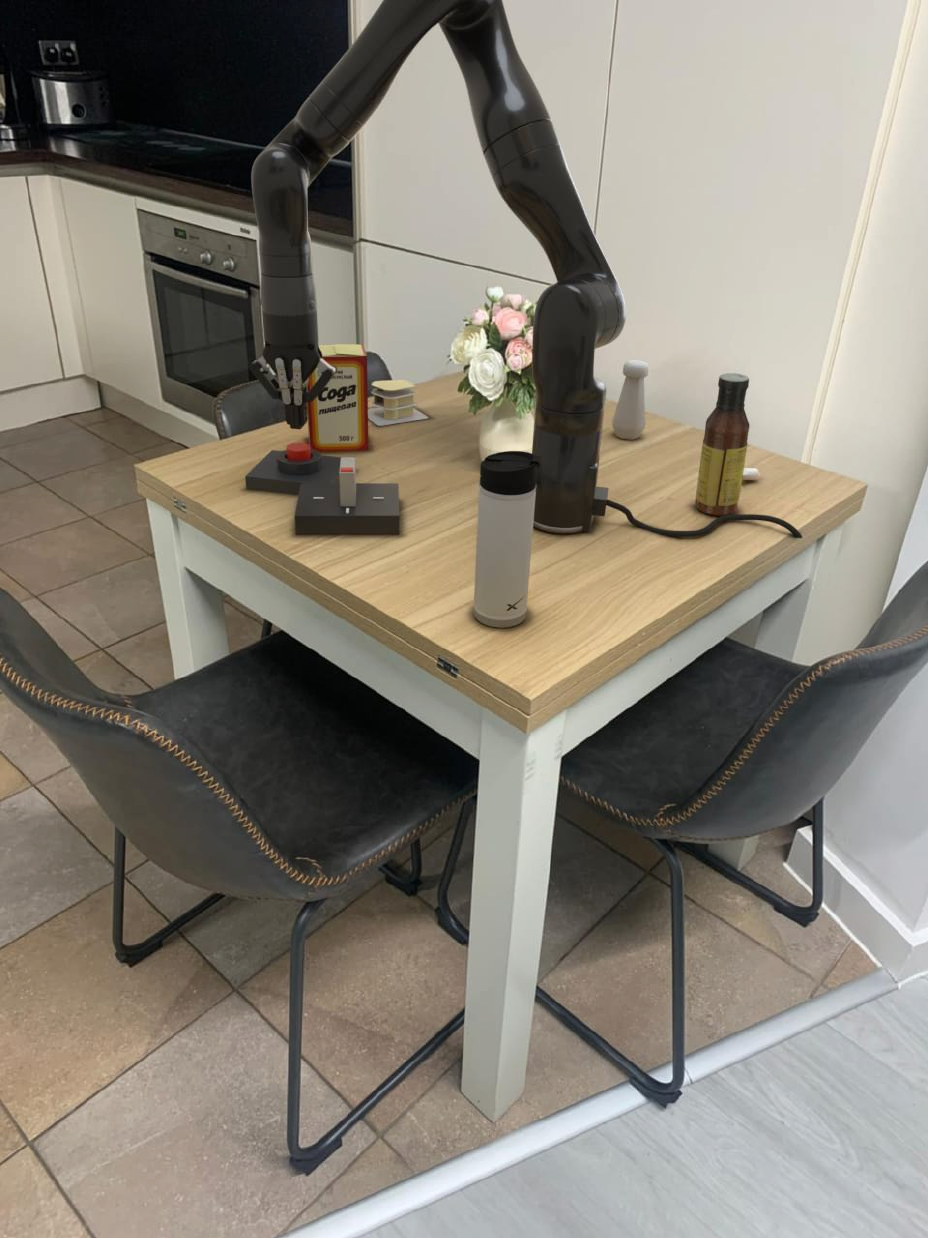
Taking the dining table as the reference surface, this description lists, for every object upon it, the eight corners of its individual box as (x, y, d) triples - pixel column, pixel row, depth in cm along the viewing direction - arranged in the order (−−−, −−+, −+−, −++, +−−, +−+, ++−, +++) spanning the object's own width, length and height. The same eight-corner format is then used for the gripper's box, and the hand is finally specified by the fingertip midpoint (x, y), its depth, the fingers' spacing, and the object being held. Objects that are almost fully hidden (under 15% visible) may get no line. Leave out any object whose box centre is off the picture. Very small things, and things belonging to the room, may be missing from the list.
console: (398, 502, 139) (398, 482, 137) (399, 535, 130) (399, 514, 128) (301, 502, 138) (300, 481, 136) (295, 535, 128) (294, 514, 127)
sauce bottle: (737, 503, 143) (763, 372, 132) (735, 520, 137) (762, 385, 127) (693, 497, 144) (715, 367, 134) (690, 514, 139) (712, 380, 128)
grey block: (342, 490, 134) (340, 455, 132) (356, 490, 134) (355, 455, 132) (340, 506, 130) (339, 470, 127) (355, 506, 130) (354, 470, 127)
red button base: (352, 471, 148) (351, 447, 146) (330, 499, 139) (329, 473, 137) (272, 462, 150) (271, 438, 148) (246, 489, 141) (243, 464, 139)
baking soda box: (310, 452, 154) (305, 354, 146) (308, 438, 160) (303, 342, 151) (368, 450, 156) (366, 353, 148) (365, 436, 161) (363, 342, 153)
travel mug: (524, 632, 109) (537, 469, 99) (468, 624, 110) (475, 462, 100) (532, 605, 114) (545, 448, 104) (478, 598, 115) (486, 442, 105)
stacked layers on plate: (406, 403, 177) (406, 374, 174) (429, 418, 170) (429, 388, 168) (357, 410, 173) (356, 380, 170) (378, 426, 166) (378, 395, 163)
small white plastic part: (765, 486, 149) (769, 468, 147) (727, 485, 148) (730, 466, 147) (759, 477, 152) (763, 459, 150) (722, 476, 152) (725, 458, 150)
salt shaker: (605, 430, 168) (613, 357, 161) (634, 428, 169) (644, 355, 163) (619, 442, 163) (628, 367, 156) (649, 439, 165) (660, 365, 158)
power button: (314, 454, 144) (313, 443, 143) (306, 463, 141) (306, 452, 140) (291, 452, 144) (291, 441, 143) (283, 460, 141) (282, 449, 140)
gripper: (343, 304, 133) (347, 423, 142) (253, 297, 135) (263, 415, 144) (327, 316, 127) (332, 440, 136) (233, 309, 129) (244, 431, 138)
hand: (297, 427), depth 140 cm, fingers closed
